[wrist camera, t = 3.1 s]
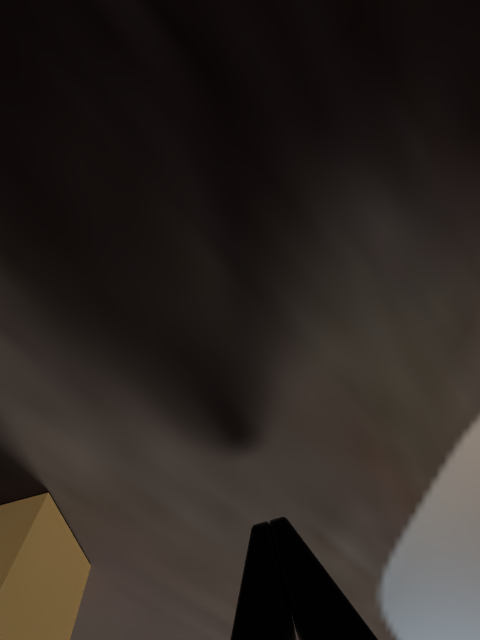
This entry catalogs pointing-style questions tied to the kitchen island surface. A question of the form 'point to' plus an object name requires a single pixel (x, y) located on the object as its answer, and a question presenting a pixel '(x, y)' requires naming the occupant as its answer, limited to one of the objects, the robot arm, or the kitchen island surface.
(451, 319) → the kitchen island surface
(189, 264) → the kitchen island surface
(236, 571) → the kitchen island surface
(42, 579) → the dumbbell shaped bar
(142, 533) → the kitchen island surface
